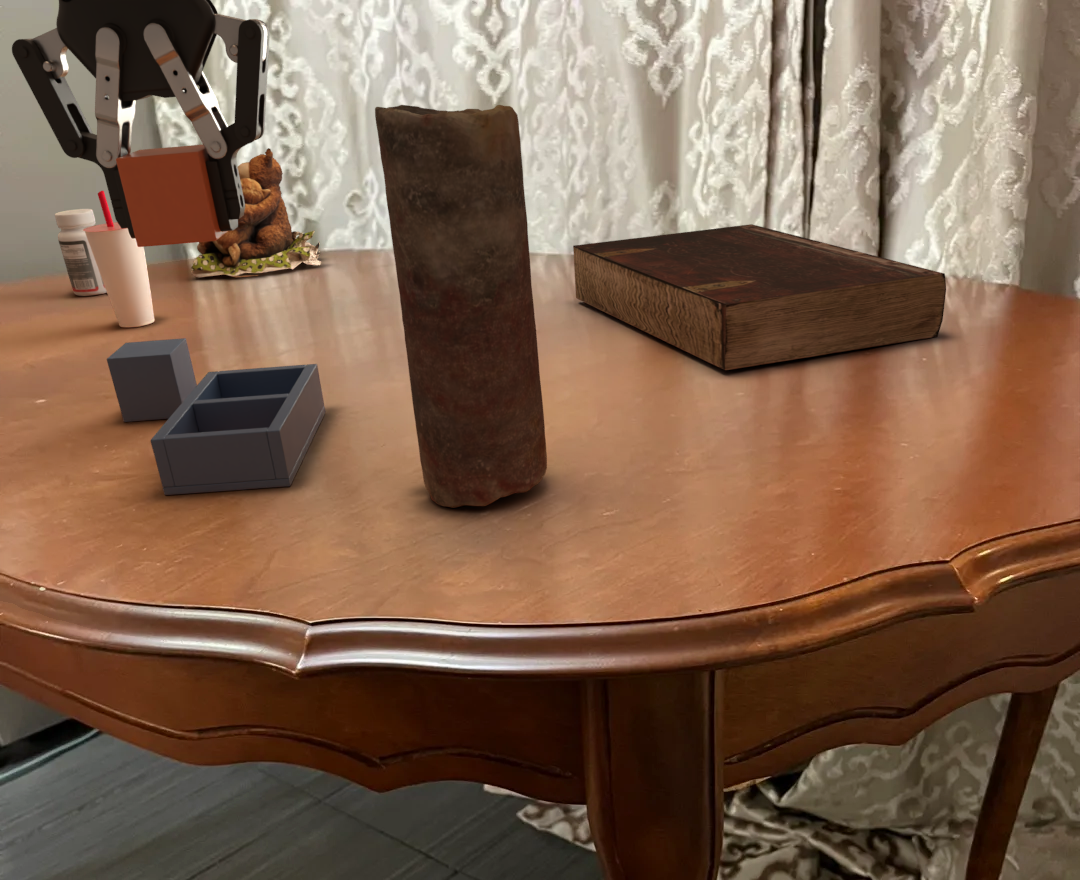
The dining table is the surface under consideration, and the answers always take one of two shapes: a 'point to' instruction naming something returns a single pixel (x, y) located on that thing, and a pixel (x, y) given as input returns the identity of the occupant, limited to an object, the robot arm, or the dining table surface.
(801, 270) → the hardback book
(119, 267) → the cup
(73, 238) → the pill bottle
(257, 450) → the tray
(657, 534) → the dining table surface
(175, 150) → the terracotta block
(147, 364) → the blue block
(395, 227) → the brown tall block
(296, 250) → the bear figurine
